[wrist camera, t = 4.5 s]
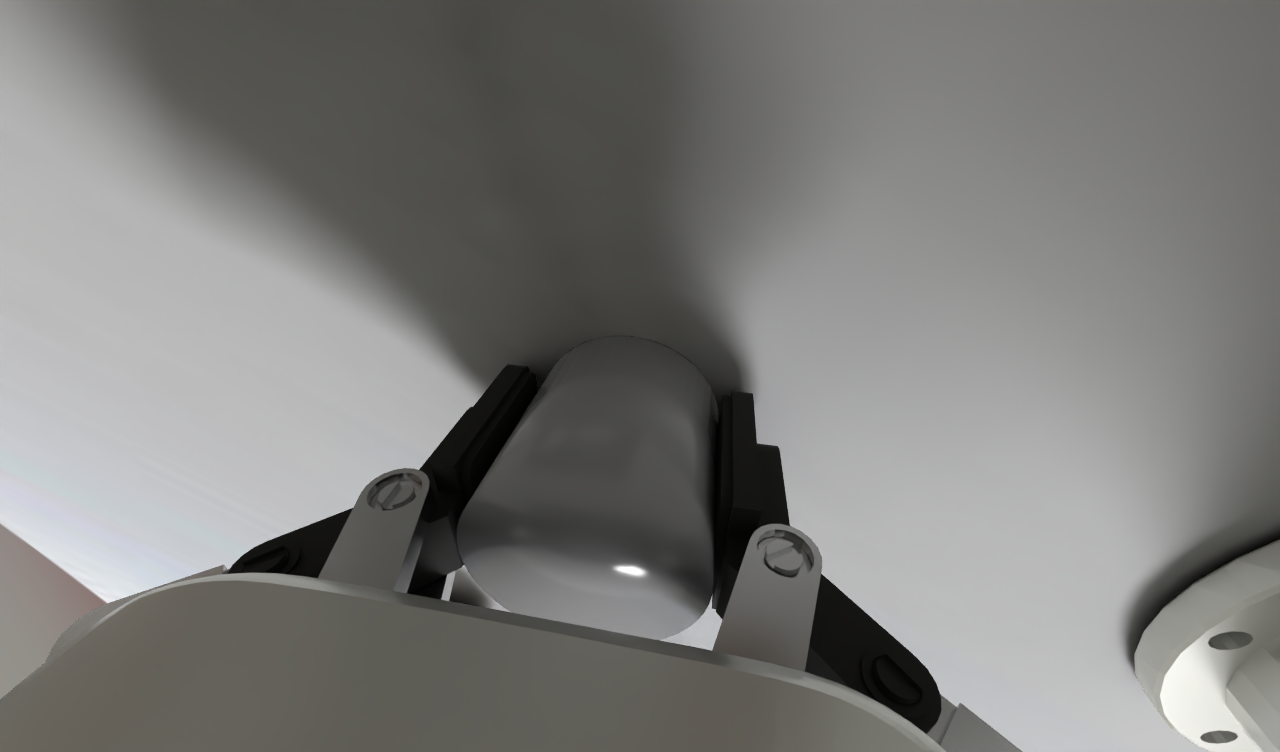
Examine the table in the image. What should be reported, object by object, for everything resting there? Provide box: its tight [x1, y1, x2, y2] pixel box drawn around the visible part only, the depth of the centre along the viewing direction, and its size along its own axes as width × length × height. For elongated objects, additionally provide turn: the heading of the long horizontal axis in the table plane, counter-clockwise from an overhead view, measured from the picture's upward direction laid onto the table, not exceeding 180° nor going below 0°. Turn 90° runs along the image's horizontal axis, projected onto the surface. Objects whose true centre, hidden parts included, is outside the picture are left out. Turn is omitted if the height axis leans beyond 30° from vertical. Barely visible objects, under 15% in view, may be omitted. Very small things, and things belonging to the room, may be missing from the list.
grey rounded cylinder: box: [457, 336, 719, 640], centre depth 11 cm, size 5×5×5 cm
